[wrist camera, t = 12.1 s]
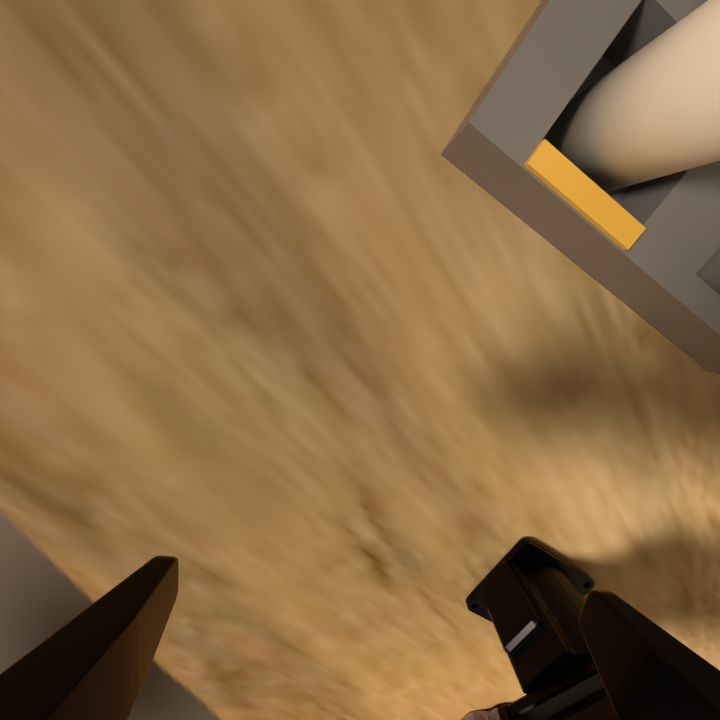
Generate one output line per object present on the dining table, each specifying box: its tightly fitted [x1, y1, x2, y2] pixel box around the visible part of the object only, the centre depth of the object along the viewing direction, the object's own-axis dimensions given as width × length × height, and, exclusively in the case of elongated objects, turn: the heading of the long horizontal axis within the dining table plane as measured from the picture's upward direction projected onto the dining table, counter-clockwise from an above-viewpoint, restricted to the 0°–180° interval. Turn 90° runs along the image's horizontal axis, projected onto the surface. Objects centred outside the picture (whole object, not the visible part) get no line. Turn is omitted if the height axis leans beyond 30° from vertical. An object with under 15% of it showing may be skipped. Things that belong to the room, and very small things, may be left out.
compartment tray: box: [441, 0, 720, 374], centre depth 16 cm, size 20×8×4 cm, turn 56°
